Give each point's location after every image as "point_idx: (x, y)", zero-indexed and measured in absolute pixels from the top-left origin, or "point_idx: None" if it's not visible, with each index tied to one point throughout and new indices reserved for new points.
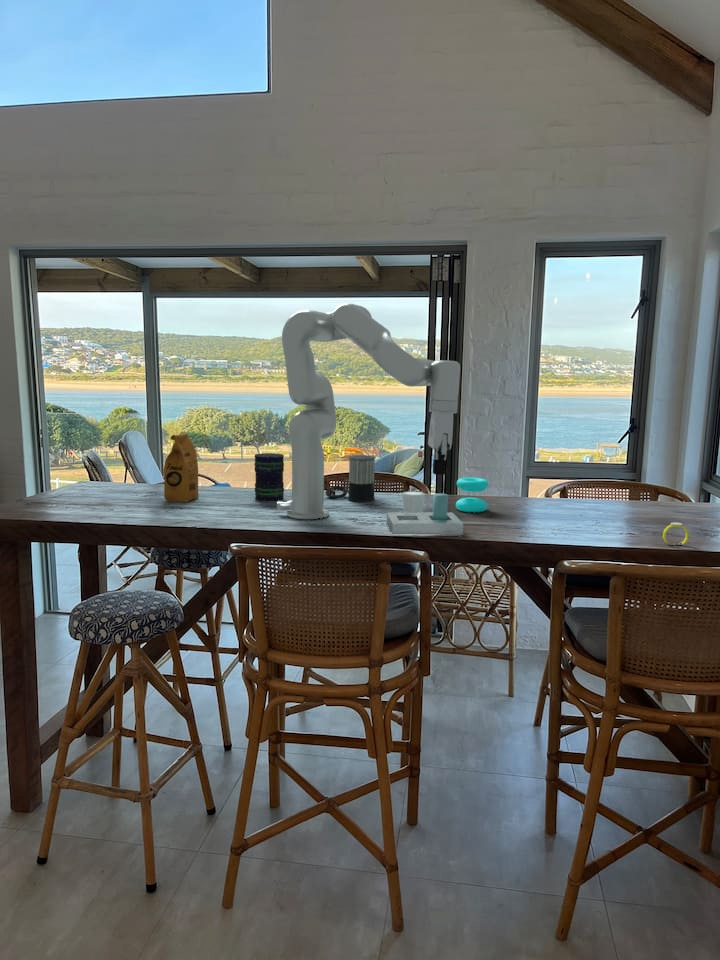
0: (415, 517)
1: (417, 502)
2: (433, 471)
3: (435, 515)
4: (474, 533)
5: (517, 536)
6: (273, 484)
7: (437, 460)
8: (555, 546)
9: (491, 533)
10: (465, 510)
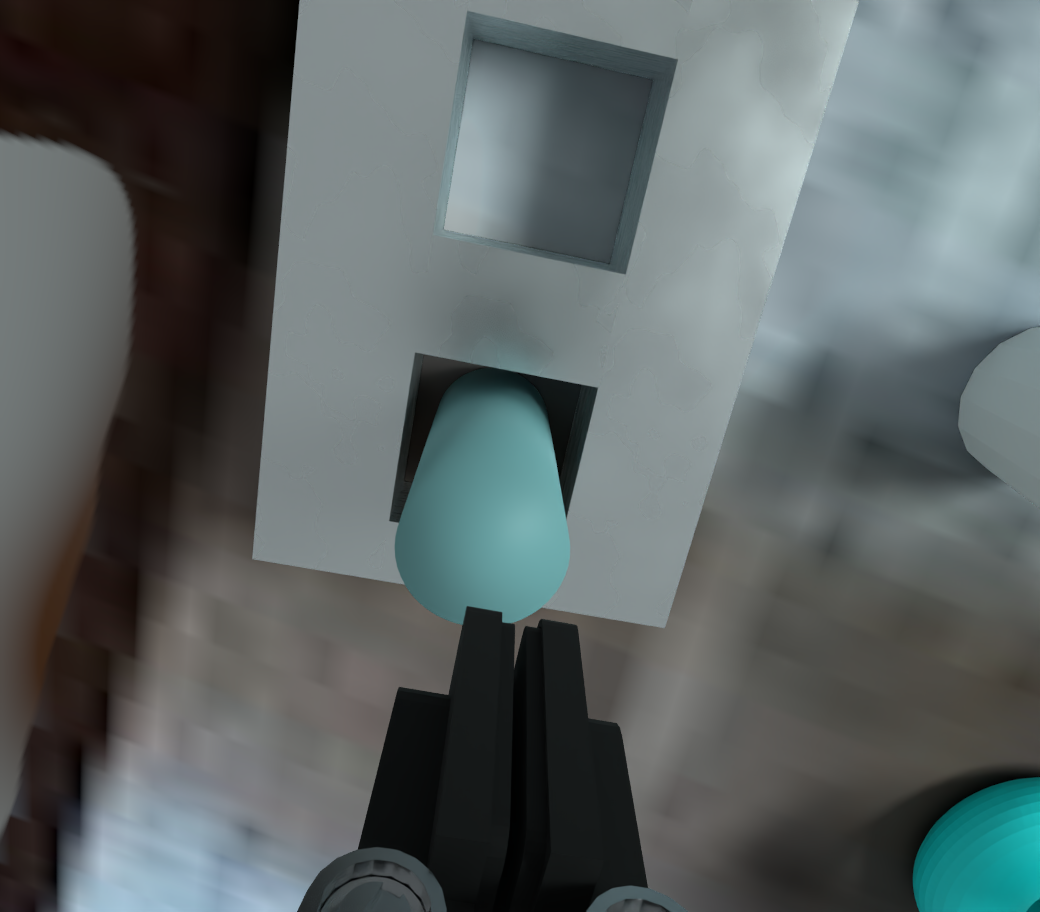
0: (624, 267)
1: (1037, 449)
2: (486, 628)
3: (452, 410)
4: (358, 618)
5: (249, 816)
6: None
7: (411, 881)
8: (10, 894)
9: (343, 714)
10: (965, 801)
